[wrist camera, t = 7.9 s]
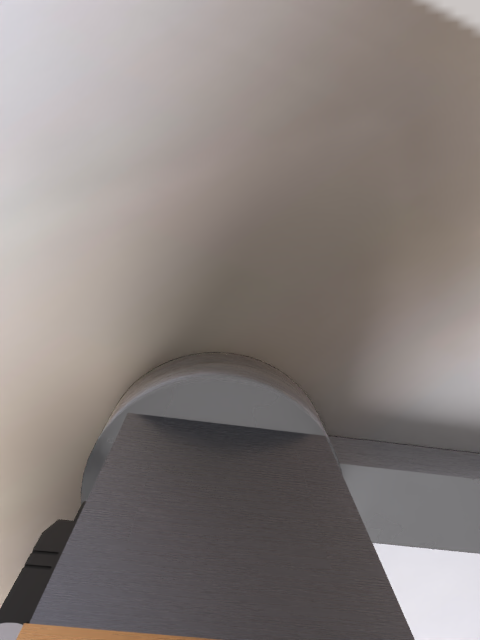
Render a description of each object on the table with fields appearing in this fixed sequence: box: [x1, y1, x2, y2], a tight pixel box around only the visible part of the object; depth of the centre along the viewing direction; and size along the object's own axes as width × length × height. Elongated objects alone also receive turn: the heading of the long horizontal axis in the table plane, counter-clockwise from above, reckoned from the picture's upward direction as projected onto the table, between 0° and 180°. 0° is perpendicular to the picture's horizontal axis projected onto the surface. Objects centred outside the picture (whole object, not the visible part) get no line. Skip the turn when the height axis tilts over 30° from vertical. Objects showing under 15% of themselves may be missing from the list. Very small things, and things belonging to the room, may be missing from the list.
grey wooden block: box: [16, 413, 414, 640], centre depth 10 cm, size 6×6×7 cm
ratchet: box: [81, 352, 480, 554], centre depth 14 cm, size 21×8×6 cm, turn 82°
